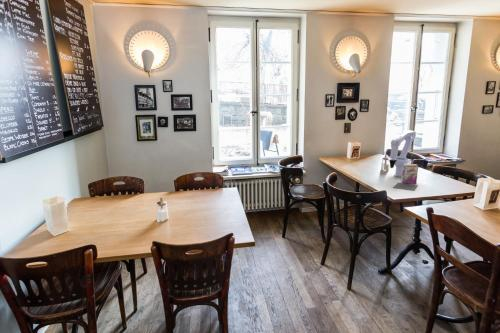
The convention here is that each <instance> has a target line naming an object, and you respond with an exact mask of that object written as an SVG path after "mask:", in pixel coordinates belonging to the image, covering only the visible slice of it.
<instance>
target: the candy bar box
mask: <svg viewBox="0 0 500 333" xmlns="http://www.w3.org/2000/svg"><path fill="white" fill-rule="evenodd" d="M418 171H419V165H418V164H416V163H415V164H414V163H407V164H403V171H402V177H401V182H400V183H405V184H417V180H418Z"/></svg>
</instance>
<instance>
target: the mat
mask: <svg viewBox="0 0 500 333" xmlns="http://www.w3.org/2000/svg"><path fill="white" fill-rule="evenodd" d="M418 186H419V185H418V184H414V183H402V182H397V183H395V185H394V186H393V187H392V188H393V189H400V190H406V191H412V192H414V191H416V189H417V187H418Z"/></svg>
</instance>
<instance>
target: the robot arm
mask: <svg viewBox="0 0 500 333" xmlns="http://www.w3.org/2000/svg"><path fill="white" fill-rule="evenodd" d="M416 136H417V132H416V131H415V130H405V129H404V130H403V132H402V134H401V135H398V136H397V137H396V138H395V139H394V138H393V139H391V141H390V148H391V149H390V155H389V156H388V159H389V160H388V162H389V168H390V169H394V167H395V174H394V175H393V176H395V177H400V178H402V171H403V164H408V159H407V158H408V157H407V155H408V152H409V149H410V147H411V145H412V142H414V140H416V139H415V138H416ZM404 141H405V142H404ZM403 142H404V144H403V145H404V146H403V148H402V150H401V152H400V155H398V154H399V147H400V145H401V144H402V143H403Z"/></svg>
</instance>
